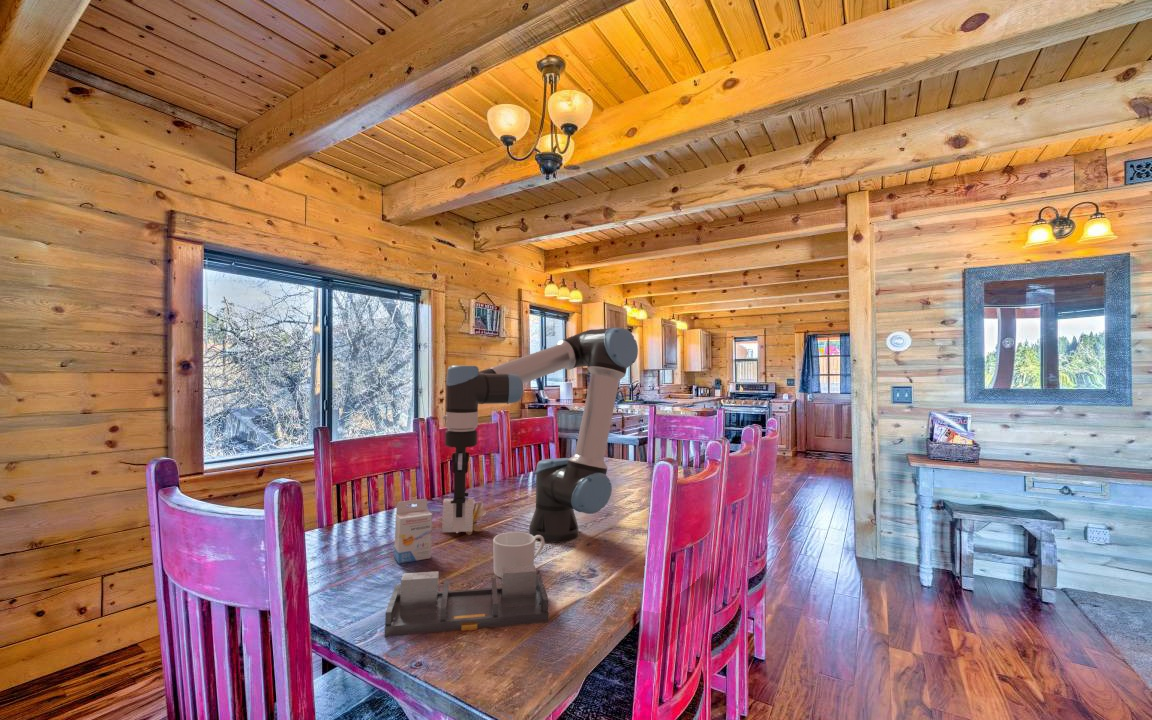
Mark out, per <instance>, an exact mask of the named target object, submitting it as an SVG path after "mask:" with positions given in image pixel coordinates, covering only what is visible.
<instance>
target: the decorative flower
mask: <svg viewBox="0 0 1152 720" xmlns="http://www.w3.org/2000/svg"><path fill="white" fill-rule="evenodd" d="M483 506H484V503H483V501H478V502H476V500H474V503H473V529H472V531H467V532H465V533H466V535H467V534H468V535H467V536H470V535H472V534H473V531H475V532H481V531H483V528H482V527H481V526H479V525H477V522H478V520H479V519H480V518H482V517H484V516H485V515H486V514H487V511H486V510H485V509H484V508H483ZM442 519H443V517H442V518H437V519H436V522H439V523H441V524H442ZM455 533H456V534H458V533H460V532H455Z"/></svg>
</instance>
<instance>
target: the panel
mask: <svg viewBox="0 0 1152 720" xmlns="http://www.w3.org/2000/svg"><path fill="white" fill-rule="evenodd" d="M453 499H454V498H443V501H442V518H443V519H442V523H441V525H442V526H441V533H456V532H459V533H461V532H463V533H466V532H467V531H472V532H473V530H472V529H473V509H474V508H473V503H474V501H475V498H474V497H466V498H465V530H461V531H453V503H452V504H451V501H453Z"/></svg>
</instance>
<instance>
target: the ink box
mask: <svg viewBox="0 0 1152 720" xmlns="http://www.w3.org/2000/svg"><path fill="white" fill-rule="evenodd" d="M412 504H413V505H416V506H411V505H412ZM408 506H409V507H408ZM395 512H396V513H395V526H394V551H393V552H394V553H393V555H394V556H393V558H394V560H395V561H396V562H397V564H398V565H400V564H404V563H411V562H416V561H422V560H426V559H431V558H432V555H431V554H432V534H433V533H432V532H433V530H432V529H433V513H432V512H431V511H429V510H428V499H427V498H422V499H421V498H419V499H412V500H410V499H409V500H404V501H398V502H396V511H395Z"/></svg>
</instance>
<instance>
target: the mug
mask: <svg viewBox="0 0 1152 720" xmlns="http://www.w3.org/2000/svg"><path fill="white" fill-rule="evenodd" d="M538 538H540V539H541V541H540V544H539V547H538V549H537V550H536V539H538ZM492 546H493V547H492V548H493V553H492V554H493V555H492V556H493V559H492V560H493V573H494V575H495V576H496V577H498V578H500V579H502V567H514V566H530V565H534V564H535V563H534V562H535V559H536V558H537V557H538V556H539V554H540V553H541V552H542V550H543V549H544V548H545V547H544V546H545V541H544V538H543V537H542V536H541V535H536V536H533V535H531V534H529V533H528V532H524V531H507V532H503V533H499V534H497V535H495V536H494V537H493V539H492ZM535 550H536V551H535Z"/></svg>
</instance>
